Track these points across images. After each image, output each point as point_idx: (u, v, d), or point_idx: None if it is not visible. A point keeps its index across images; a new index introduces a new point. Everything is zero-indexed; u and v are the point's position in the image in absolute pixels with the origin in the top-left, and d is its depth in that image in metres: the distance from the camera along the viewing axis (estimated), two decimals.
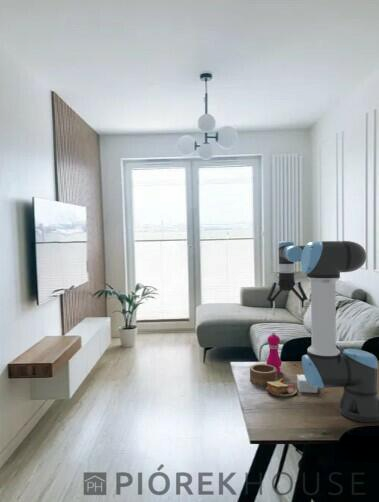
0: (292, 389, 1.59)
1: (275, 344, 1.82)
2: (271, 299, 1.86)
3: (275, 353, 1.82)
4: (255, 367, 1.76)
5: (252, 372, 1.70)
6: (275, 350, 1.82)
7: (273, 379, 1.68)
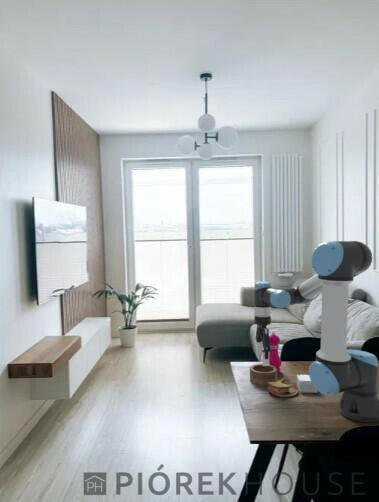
0: (293, 389, 1.59)
1: (275, 344, 1.82)
2: (256, 339, 1.80)
3: (275, 353, 1.82)
4: (255, 367, 1.76)
5: (252, 372, 1.70)
6: (275, 350, 1.82)
7: (273, 379, 1.68)
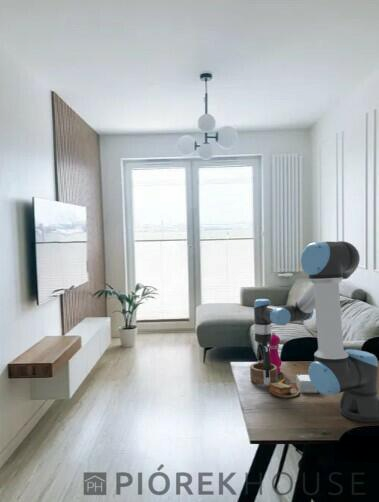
0: (294, 390, 1.58)
1: (275, 344, 1.82)
2: (257, 357, 1.79)
3: (275, 353, 1.82)
4: (255, 365, 1.76)
5: (252, 370, 1.69)
6: (275, 350, 1.82)
7: (274, 377, 1.67)
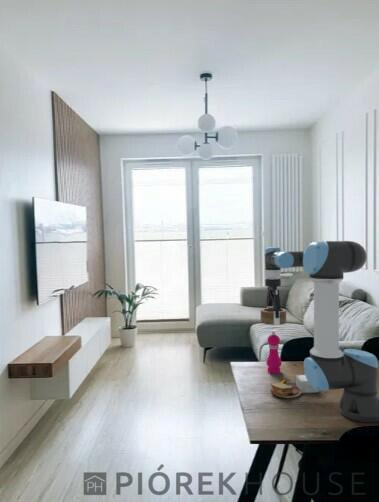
0: (296, 390, 1.58)
1: (275, 344, 1.82)
2: (267, 303, 1.91)
3: (275, 353, 1.82)
4: (265, 310, 1.88)
5: (263, 313, 1.81)
6: (275, 350, 1.82)
7: (283, 318, 1.79)
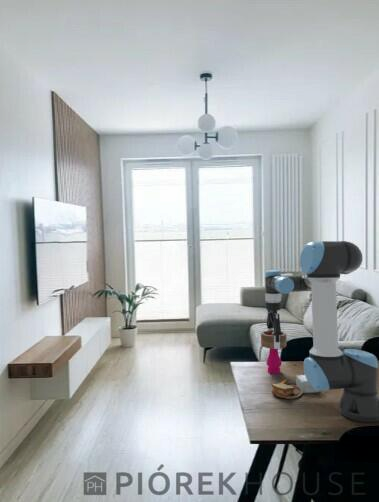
0: (297, 390, 1.57)
1: None
2: (267, 325, 1.92)
3: (275, 353, 1.82)
4: (266, 333, 1.88)
5: (263, 336, 1.82)
6: (275, 350, 1.82)
7: (283, 342, 1.80)
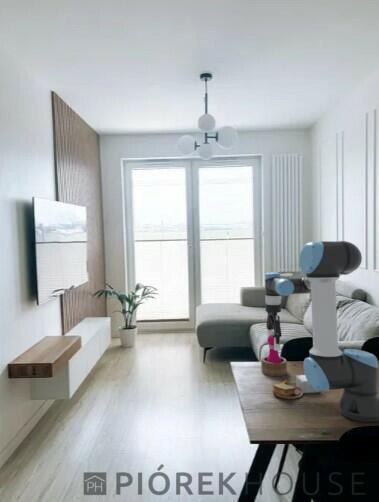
0: (298, 391, 1.57)
1: None
2: (267, 327, 1.92)
3: (275, 353, 1.82)
4: (266, 359, 1.88)
5: (264, 363, 1.82)
6: None
7: (284, 369, 1.80)
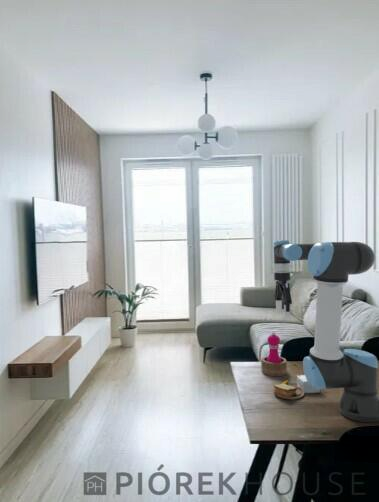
0: (299, 391, 1.57)
1: (275, 344, 1.82)
2: (275, 297, 1.88)
3: (275, 353, 1.82)
4: (266, 359, 1.88)
5: (264, 363, 1.82)
6: (275, 350, 1.82)
7: (284, 369, 1.80)
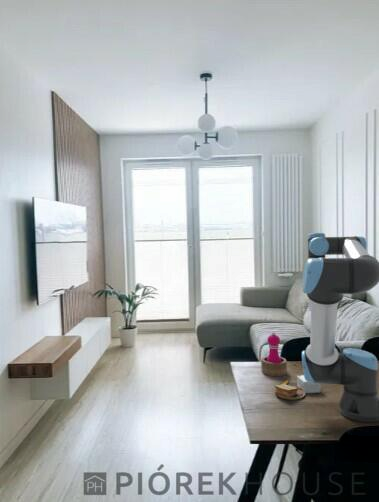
0: (300, 391, 1.57)
1: (275, 344, 1.82)
2: None
3: (275, 353, 1.82)
4: (266, 359, 1.88)
5: (264, 363, 1.82)
6: (275, 350, 1.82)
7: (284, 369, 1.80)
